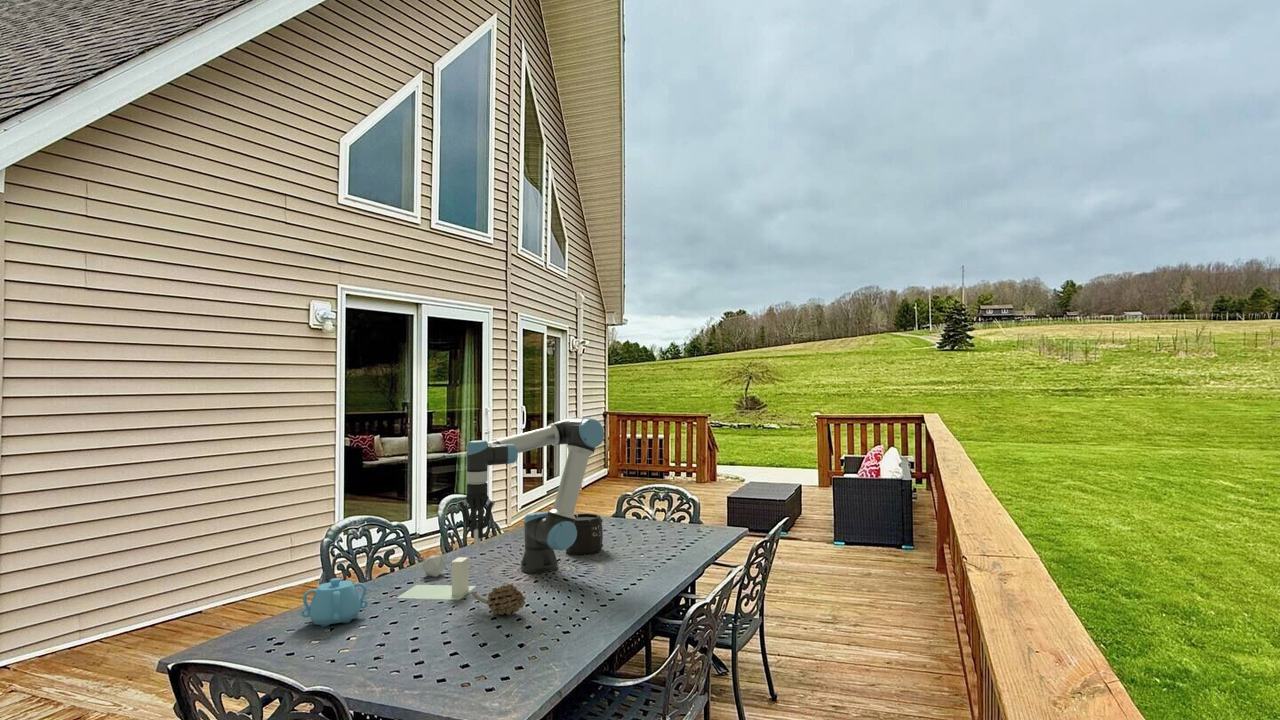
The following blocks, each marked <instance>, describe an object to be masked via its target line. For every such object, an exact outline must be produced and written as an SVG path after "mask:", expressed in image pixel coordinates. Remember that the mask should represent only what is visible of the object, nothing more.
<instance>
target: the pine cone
mask: <svg viewBox="0 0 1280 720" xmlns="http://www.w3.org/2000/svg"><path fill="white" fill-rule="evenodd" d="M471 595H472V597H473V598H474V599H476V600H477V601H479V602H481V603H483V604H486V605H487V606H488V609H490V612H491V613H492V614H493V615H495V614H499V615H502V616H503V615H505V614H506V615H508V616H509V615H510V614H512V612H513V613H517V612H519V611H520V609H521V608H522V609H523V607H524V606H525V604H526V601H525V599H526V596H524V595H523V592H522V591H521V590H519V589H518V588H517V586H514V585H513V584H510V583H507V584H506V585H505V584H503V585H501V586H500V587H495V588H494V589H492V591H491V592H489V593H488V596H487V599H485V598H483V597H481V596H479V594H477V593H476V592H475V591H472V592H471Z"/></svg>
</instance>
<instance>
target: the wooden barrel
mask: <svg viewBox="0 0 1280 720" xmlns="http://www.w3.org/2000/svg"><path fill="white" fill-rule="evenodd" d="M573 514H574V513H573ZM574 516H575V518H576V520H575V523H574V525H575V526H576V530H577V537H576V540H575V542H574V543H573V545H572V546H570V547H569V548H568V549H565V550H564V551H565V552H566V554H568V555H570V556H576V557H577V556H578V557H581V556H582V557H583V556H592V555H596V554H599V553H600V552H601V550H602V549H603V547H604V544H603V538H604V535H603V522H604V520H603V519H602V518H601V515H599V514H596V513H577V514H576V513H575V514H574Z"/></svg>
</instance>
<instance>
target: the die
mask: <svg viewBox="0 0 1280 720" xmlns="http://www.w3.org/2000/svg"><path fill="white" fill-rule="evenodd" d="M421 565H422V568H423V571H424V573H425V575H426V577H431V576H432V577H435V578H437V577H439V576H440V575H441V574H442V573H443V572H444V571H445V570H446V568H447V567H446V563H445V561H444V559H443V557H442V555H433V554H431V555H429V557H427V559H426V560H425V561H424V562H423V563H422V564H421Z"/></svg>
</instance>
